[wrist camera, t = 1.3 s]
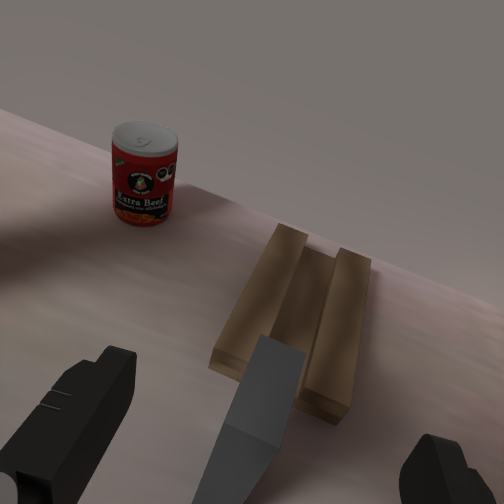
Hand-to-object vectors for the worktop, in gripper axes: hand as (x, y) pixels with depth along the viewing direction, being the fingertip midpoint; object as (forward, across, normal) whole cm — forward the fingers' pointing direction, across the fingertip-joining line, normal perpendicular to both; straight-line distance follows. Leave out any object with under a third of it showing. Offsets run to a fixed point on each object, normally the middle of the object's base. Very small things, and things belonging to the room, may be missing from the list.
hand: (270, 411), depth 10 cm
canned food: (+39, +20, +14) cm, 46 cm away
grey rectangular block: (+10, 0, +21) cm, 23 cm away
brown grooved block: (+29, -4, +18) cm, 34 cm away
